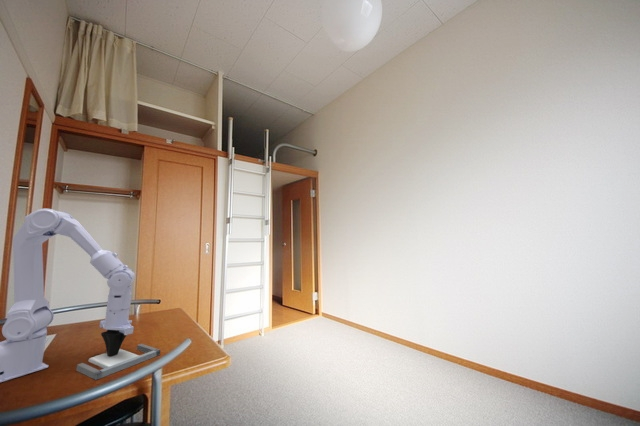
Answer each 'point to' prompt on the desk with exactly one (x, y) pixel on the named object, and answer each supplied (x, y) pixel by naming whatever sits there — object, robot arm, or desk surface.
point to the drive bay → (98, 374)
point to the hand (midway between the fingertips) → (112, 355)
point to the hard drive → (112, 358)
